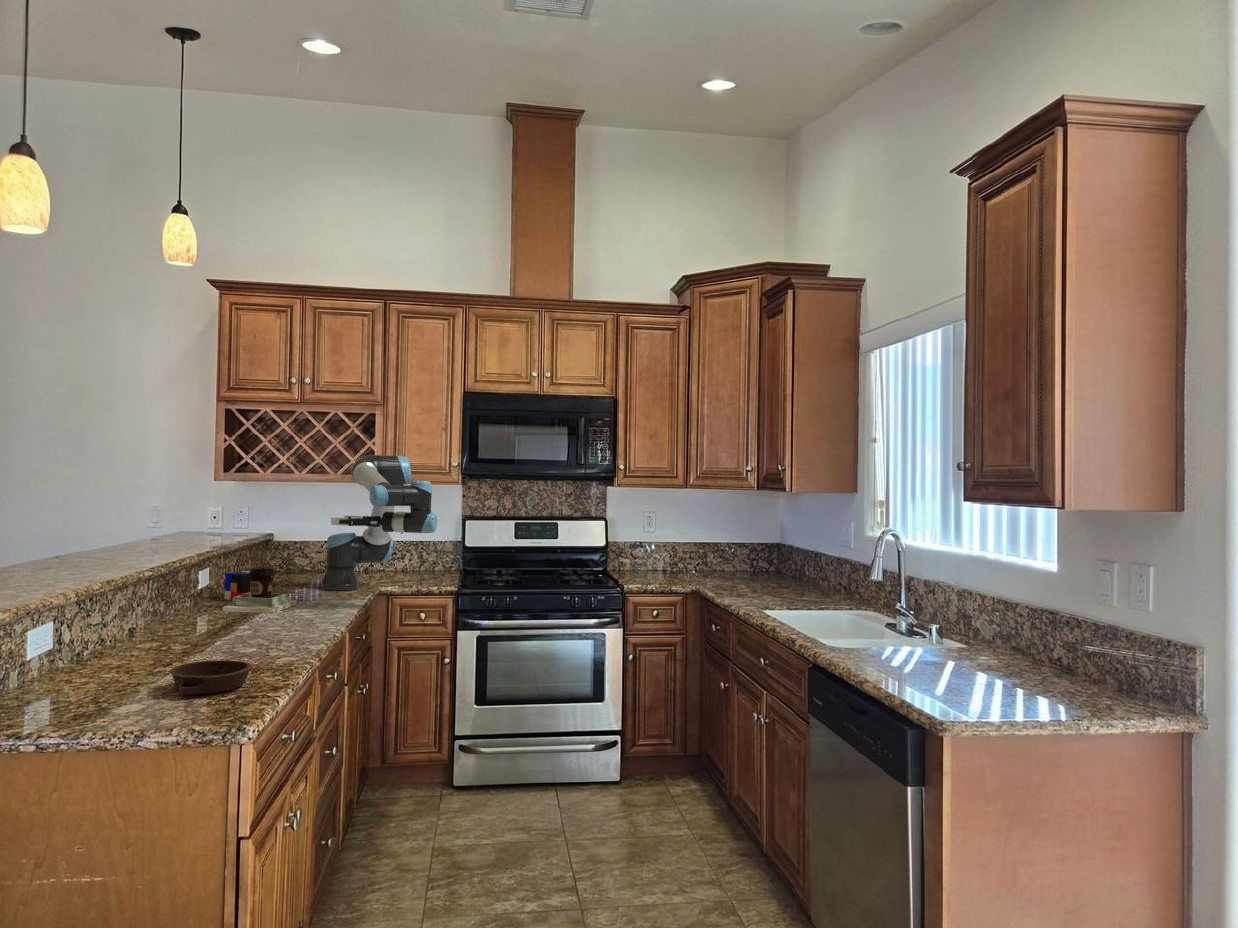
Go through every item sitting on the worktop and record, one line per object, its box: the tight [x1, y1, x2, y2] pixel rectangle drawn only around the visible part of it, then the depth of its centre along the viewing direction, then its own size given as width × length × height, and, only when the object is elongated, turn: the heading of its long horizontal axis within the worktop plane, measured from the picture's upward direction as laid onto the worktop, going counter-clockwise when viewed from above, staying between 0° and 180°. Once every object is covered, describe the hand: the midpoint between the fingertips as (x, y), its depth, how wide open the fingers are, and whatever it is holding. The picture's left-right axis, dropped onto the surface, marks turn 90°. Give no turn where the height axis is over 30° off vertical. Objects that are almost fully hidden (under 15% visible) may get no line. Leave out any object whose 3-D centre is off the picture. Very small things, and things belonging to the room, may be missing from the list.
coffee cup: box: [249, 566, 276, 598], centre depth 319 cm, size 9×8×13 cm
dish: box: [169, 660, 253, 696], centre depth 206 cm, size 17×22×5 cm
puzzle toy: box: [224, 570, 251, 601], centre depth 338 cm, size 10×10×10 cm
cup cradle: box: [222, 592, 297, 614], centre depth 319 cm, size 20×18×4 cm
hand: (338, 520), depth 328 cm, fingers open, 13 cm apart
